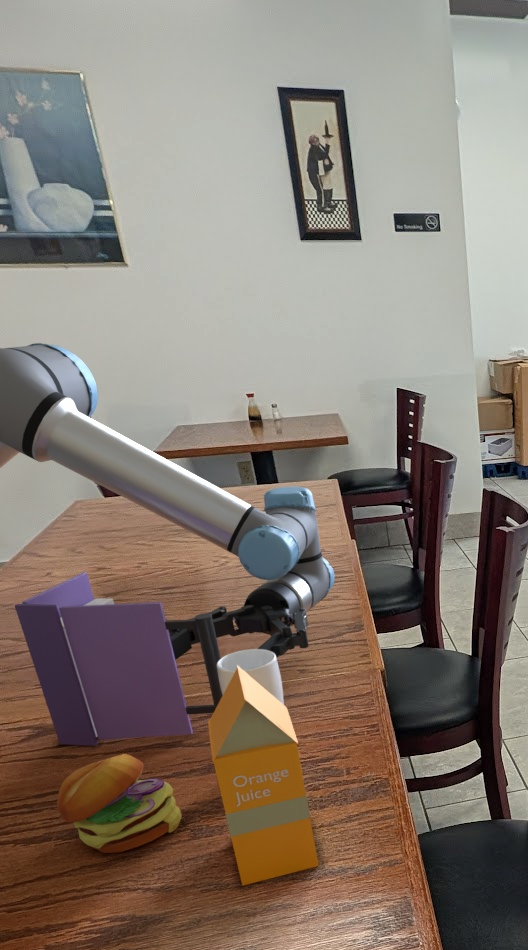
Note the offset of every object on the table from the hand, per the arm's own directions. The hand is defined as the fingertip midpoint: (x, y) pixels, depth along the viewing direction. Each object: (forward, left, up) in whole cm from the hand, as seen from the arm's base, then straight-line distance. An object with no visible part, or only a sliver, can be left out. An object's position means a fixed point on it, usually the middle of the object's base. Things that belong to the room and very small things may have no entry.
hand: (210, 659), depth 108 cm
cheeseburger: (+1, -25, -10) cm, 27 cm away
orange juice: (+19, -27, -10) cm, 34 cm away
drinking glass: (+11, -11, -10) cm, 18 cm away
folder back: (-17, 0, -10) cm, 20 cm away
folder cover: (-6, -4, -10) cm, 12 cm away
